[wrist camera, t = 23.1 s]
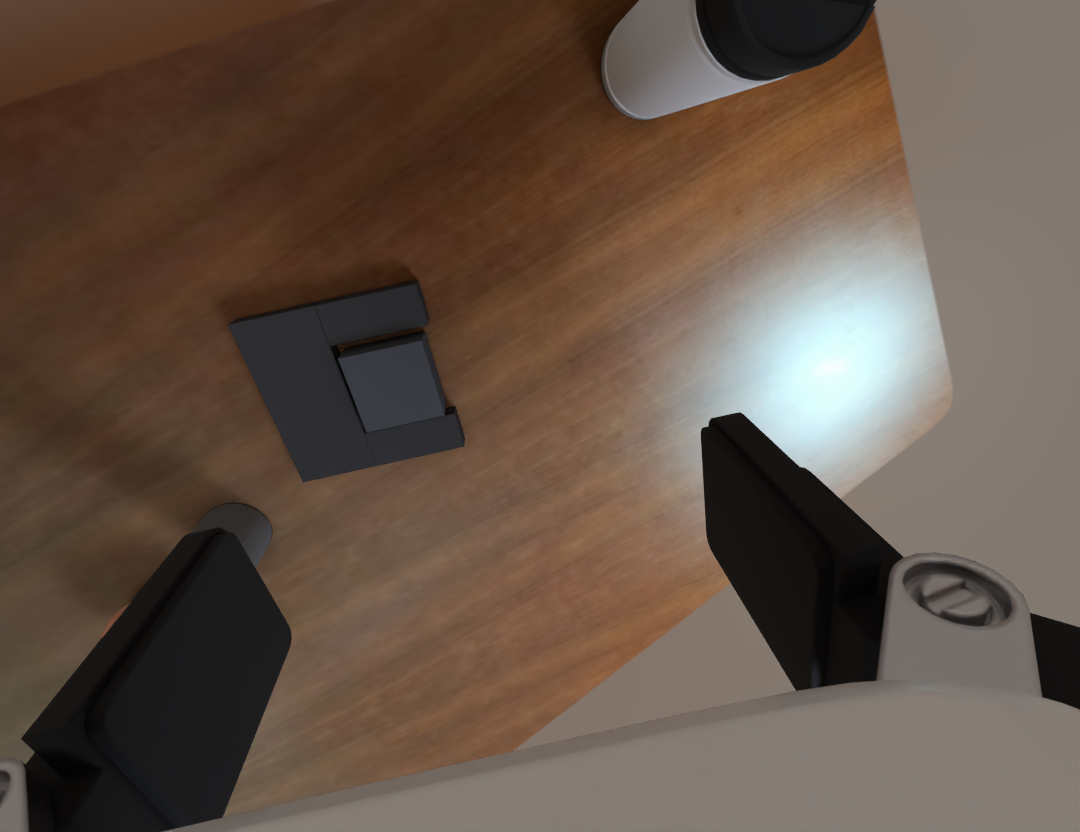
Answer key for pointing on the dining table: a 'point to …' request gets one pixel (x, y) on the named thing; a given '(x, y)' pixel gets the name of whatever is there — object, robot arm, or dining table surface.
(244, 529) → the bottle
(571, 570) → the dining table surface
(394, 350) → the grey block
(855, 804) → the robot arm
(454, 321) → the dining table surface
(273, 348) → the dark grey notched block
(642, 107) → the travel mug
